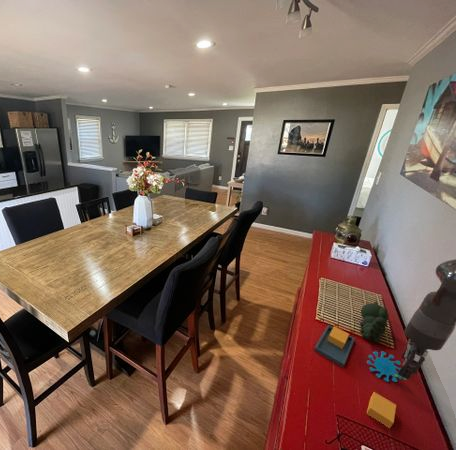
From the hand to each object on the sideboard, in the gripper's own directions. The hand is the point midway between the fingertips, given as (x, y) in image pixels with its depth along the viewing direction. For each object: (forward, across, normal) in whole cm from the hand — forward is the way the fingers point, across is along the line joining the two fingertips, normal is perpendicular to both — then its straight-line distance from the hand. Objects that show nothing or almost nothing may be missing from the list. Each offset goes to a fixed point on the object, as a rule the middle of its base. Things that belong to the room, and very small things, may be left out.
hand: (404, 367), depth 73 cm
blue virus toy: (+19, +15, +1) cm, 24 cm away
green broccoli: (+19, +38, +9) cm, 43 cm away
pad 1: (+18, +20, +17) cm, 32 cm away
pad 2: (+18, -3, 0) cm, 19 cm away
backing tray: (+18, +16, +17) cm, 30 cm away
